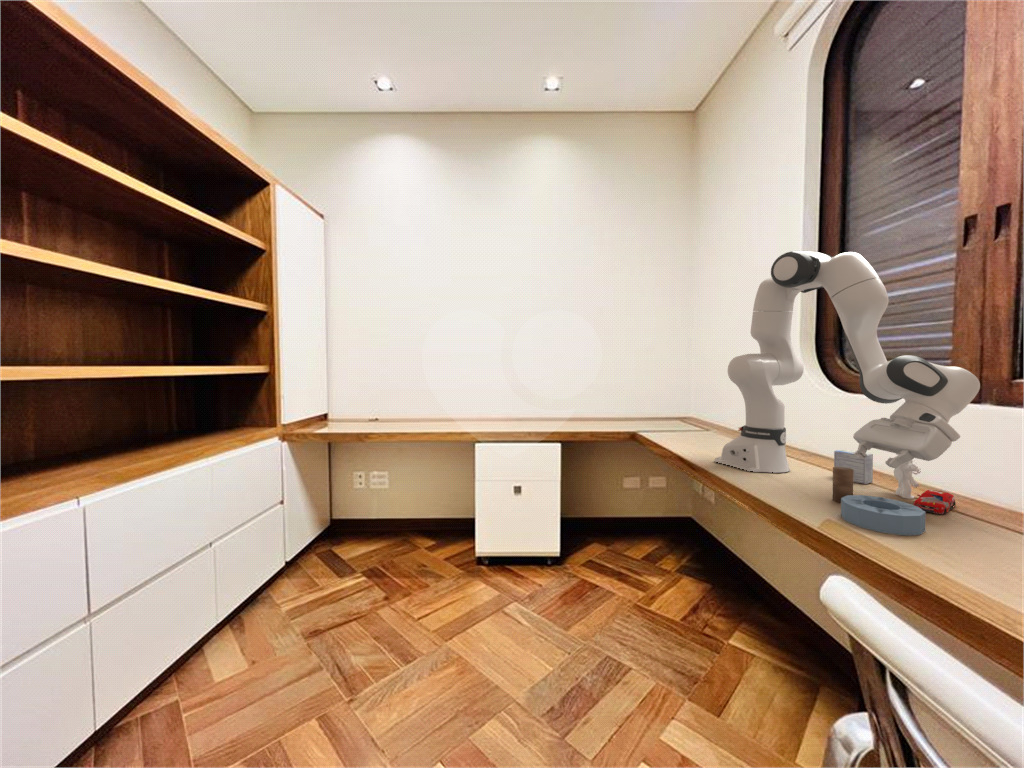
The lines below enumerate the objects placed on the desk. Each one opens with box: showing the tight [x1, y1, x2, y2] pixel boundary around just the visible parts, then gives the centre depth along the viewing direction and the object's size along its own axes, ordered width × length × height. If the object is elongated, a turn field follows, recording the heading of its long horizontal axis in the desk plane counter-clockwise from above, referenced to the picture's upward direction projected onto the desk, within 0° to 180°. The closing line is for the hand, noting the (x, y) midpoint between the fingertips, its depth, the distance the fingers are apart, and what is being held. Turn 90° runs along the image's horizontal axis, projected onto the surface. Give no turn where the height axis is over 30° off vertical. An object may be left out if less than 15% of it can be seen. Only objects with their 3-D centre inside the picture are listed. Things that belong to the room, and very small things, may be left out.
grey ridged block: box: [833, 448, 874, 485], centre depth 117 cm, size 8×4×9 cm, turn 25°
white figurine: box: [893, 454, 921, 500], centre depth 102 cm, size 9×4×12 cm, turn 162°
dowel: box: [831, 466, 854, 505], centre depth 99 cm, size 4×4×8 cm
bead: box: [840, 494, 927, 536], centre depth 86 cm, size 13×13×4 cm
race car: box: [913, 489, 956, 516], centre depth 94 cm, size 13×5×4 cm, turn 120°
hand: (872, 461), depth 98 cm, fingers open, 8 cm apart
